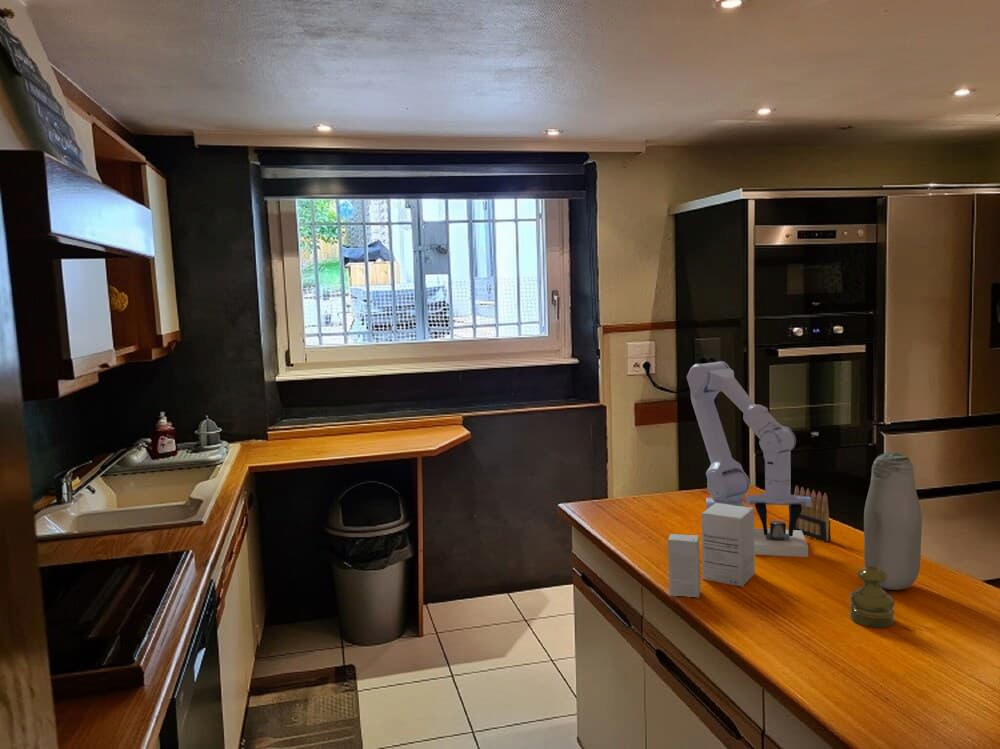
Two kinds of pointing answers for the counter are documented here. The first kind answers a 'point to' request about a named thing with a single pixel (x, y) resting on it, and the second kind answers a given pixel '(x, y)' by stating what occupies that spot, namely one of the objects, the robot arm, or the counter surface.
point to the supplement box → (728, 544)
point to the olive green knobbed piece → (872, 600)
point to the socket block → (780, 544)
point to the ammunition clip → (814, 516)
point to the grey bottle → (893, 521)
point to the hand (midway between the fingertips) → (777, 534)
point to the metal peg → (777, 531)
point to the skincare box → (684, 565)
